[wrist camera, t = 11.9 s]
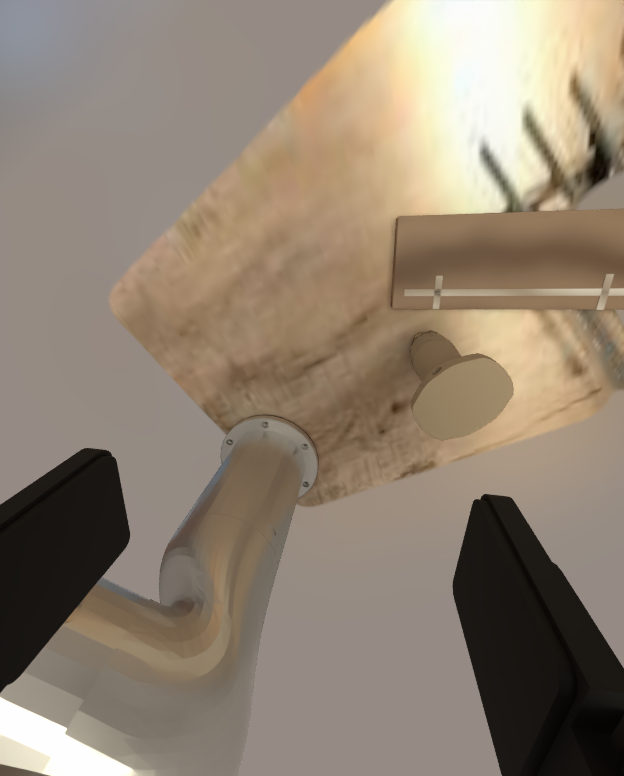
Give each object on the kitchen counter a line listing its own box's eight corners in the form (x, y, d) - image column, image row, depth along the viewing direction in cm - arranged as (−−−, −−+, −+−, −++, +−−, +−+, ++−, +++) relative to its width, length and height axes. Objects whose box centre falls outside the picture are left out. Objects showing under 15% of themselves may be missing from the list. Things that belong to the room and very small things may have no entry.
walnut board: (629, 305, 32) (651, 309, 30) (390, 305, 36) (392, 308, 33) (659, 210, 29) (685, 206, 27) (396, 218, 33) (398, 216, 30)
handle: (465, 342, 36) (528, 398, 22) (414, 379, 38) (442, 452, 24) (437, 306, 35) (483, 342, 21) (386, 347, 37) (398, 403, 23)
